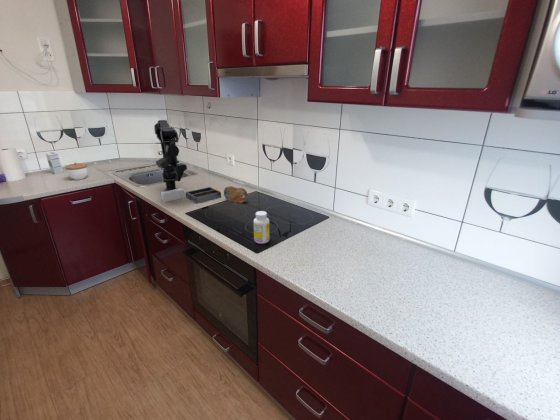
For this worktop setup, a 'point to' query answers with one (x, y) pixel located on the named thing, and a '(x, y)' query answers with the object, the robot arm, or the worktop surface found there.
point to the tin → (235, 194)
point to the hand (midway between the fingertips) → (174, 179)
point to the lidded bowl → (77, 170)
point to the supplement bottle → (261, 227)
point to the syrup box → (54, 163)
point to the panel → (172, 195)
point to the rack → (203, 194)
